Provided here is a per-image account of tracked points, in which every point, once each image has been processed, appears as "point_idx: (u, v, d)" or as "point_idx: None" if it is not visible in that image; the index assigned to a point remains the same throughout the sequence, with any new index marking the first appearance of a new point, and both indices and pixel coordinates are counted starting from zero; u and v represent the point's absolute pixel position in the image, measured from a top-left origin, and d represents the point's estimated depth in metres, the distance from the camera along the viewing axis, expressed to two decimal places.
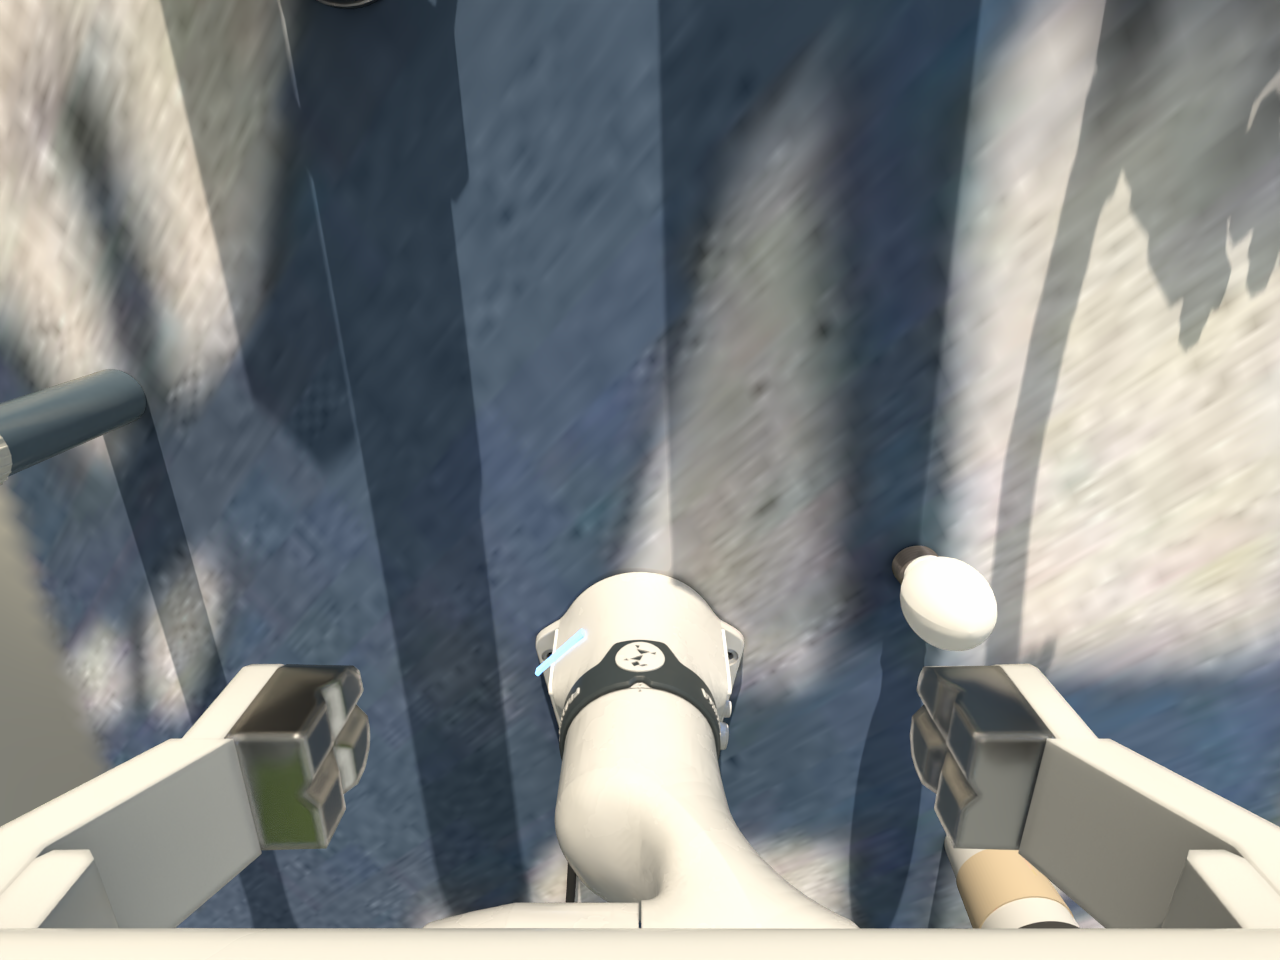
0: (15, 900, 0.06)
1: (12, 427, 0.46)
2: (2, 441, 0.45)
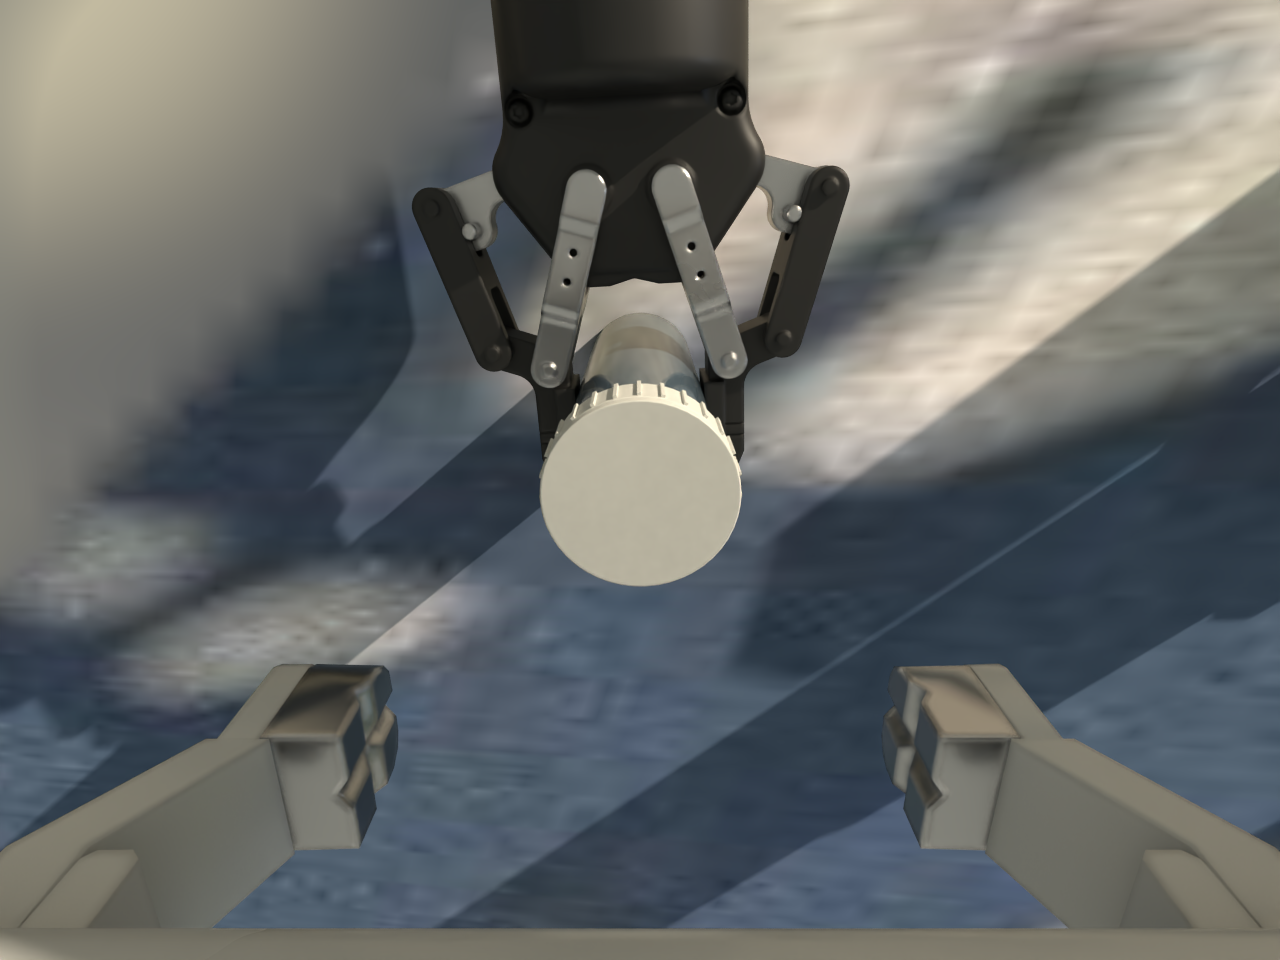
0: (63, 900, 0.06)
1: None
2: None
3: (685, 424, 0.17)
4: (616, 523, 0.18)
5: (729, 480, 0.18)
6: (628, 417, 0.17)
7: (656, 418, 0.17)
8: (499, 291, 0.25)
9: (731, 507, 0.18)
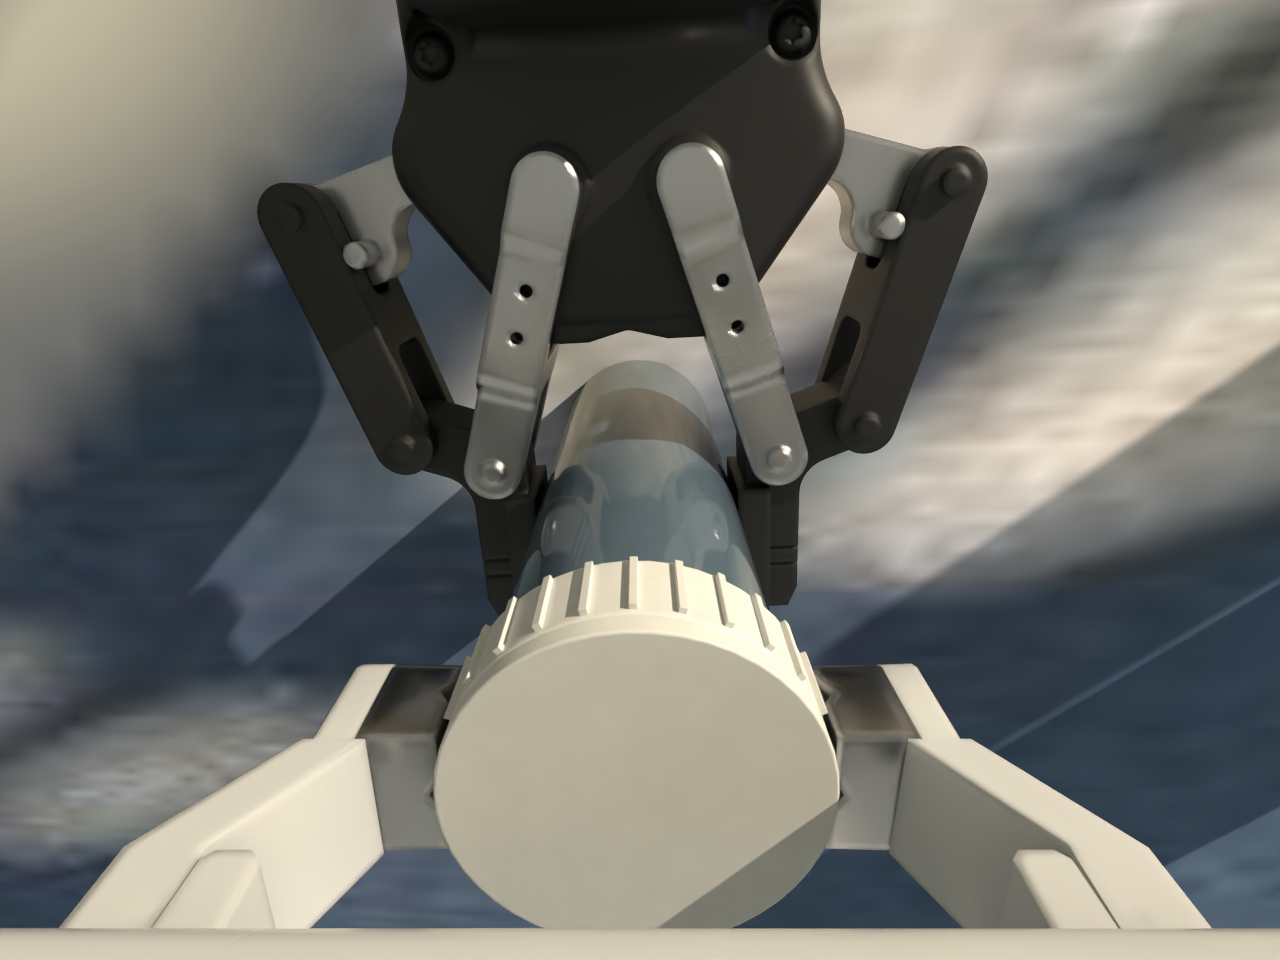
0: (190, 900, 0.06)
1: None
2: None
3: (730, 675, 0.08)
4: (589, 846, 0.09)
5: (817, 775, 0.09)
6: (610, 662, 0.08)
7: (669, 664, 0.08)
8: (419, 345, 0.16)
9: (818, 819, 0.09)
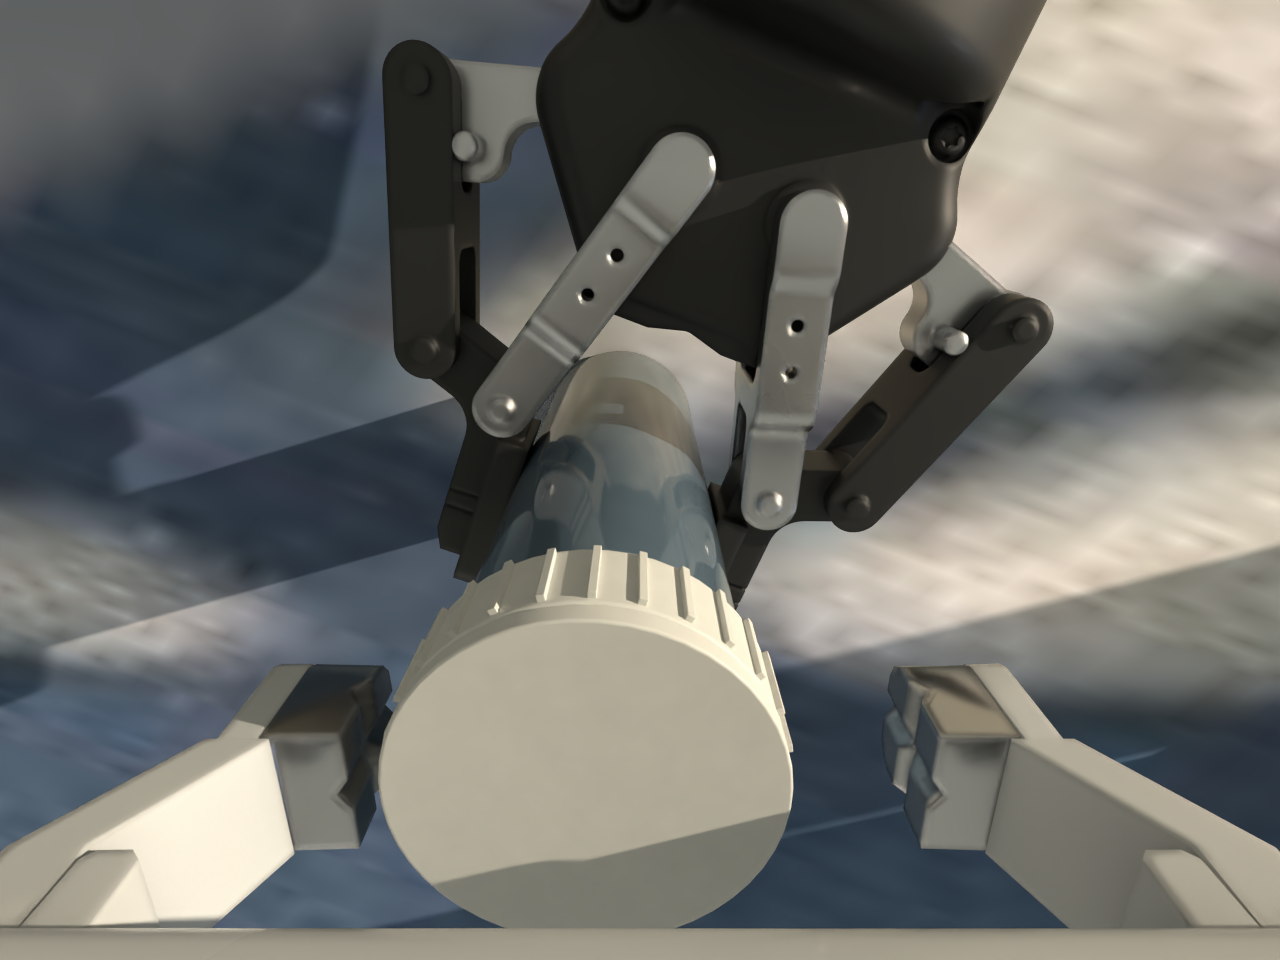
0: (62, 900, 0.06)
1: None
2: None
3: (554, 645, 0.08)
4: (582, 854, 0.09)
5: (712, 682, 0.08)
6: (452, 696, 0.08)
7: (497, 668, 0.08)
8: (473, 256, 0.16)
9: (754, 719, 0.08)
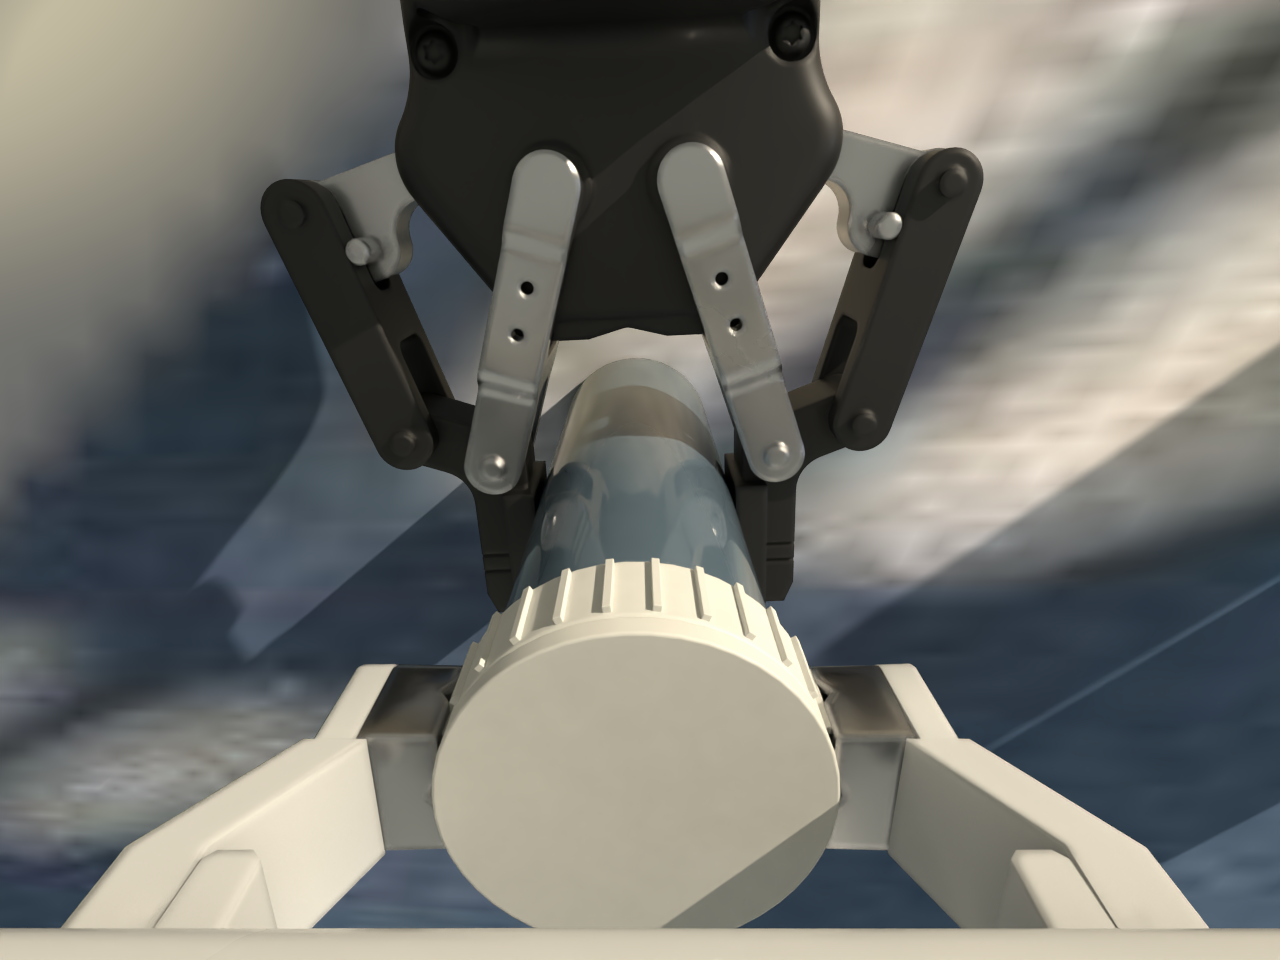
0: (192, 900, 0.06)
1: None
2: None
3: (536, 680, 0.08)
4: (659, 859, 0.09)
5: (695, 661, 0.08)
6: (471, 756, 0.08)
7: (497, 718, 0.08)
8: (420, 341, 0.16)
9: (754, 680, 0.08)
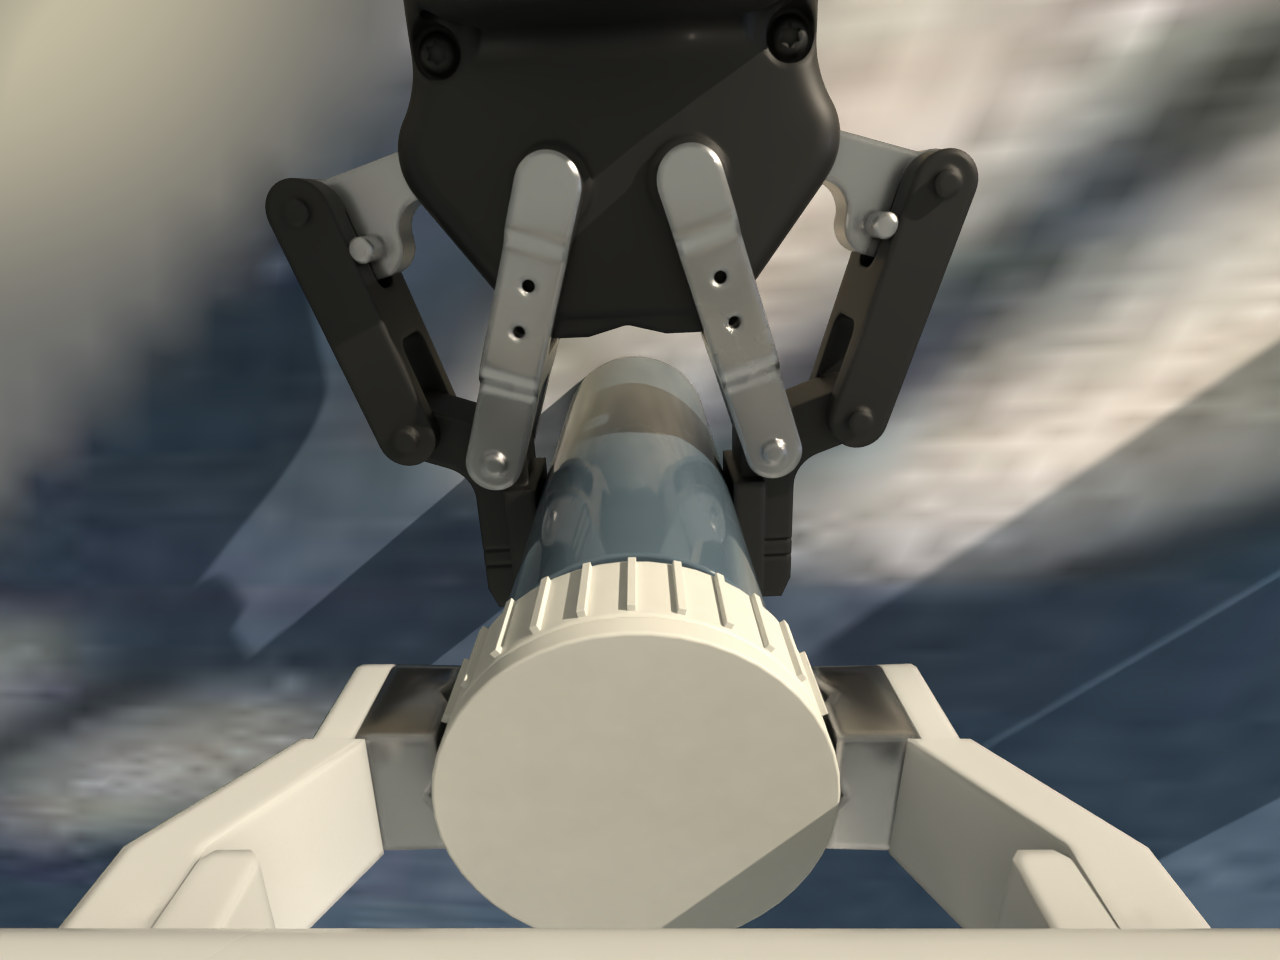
0: (191, 900, 0.06)
1: None
2: (646, 568, 0.09)
3: (457, 810, 0.09)
4: (709, 817, 0.09)
5: (502, 697, 0.08)
6: (507, 885, 0.09)
7: (479, 852, 0.09)
8: (421, 338, 0.17)
9: (553, 662, 0.08)
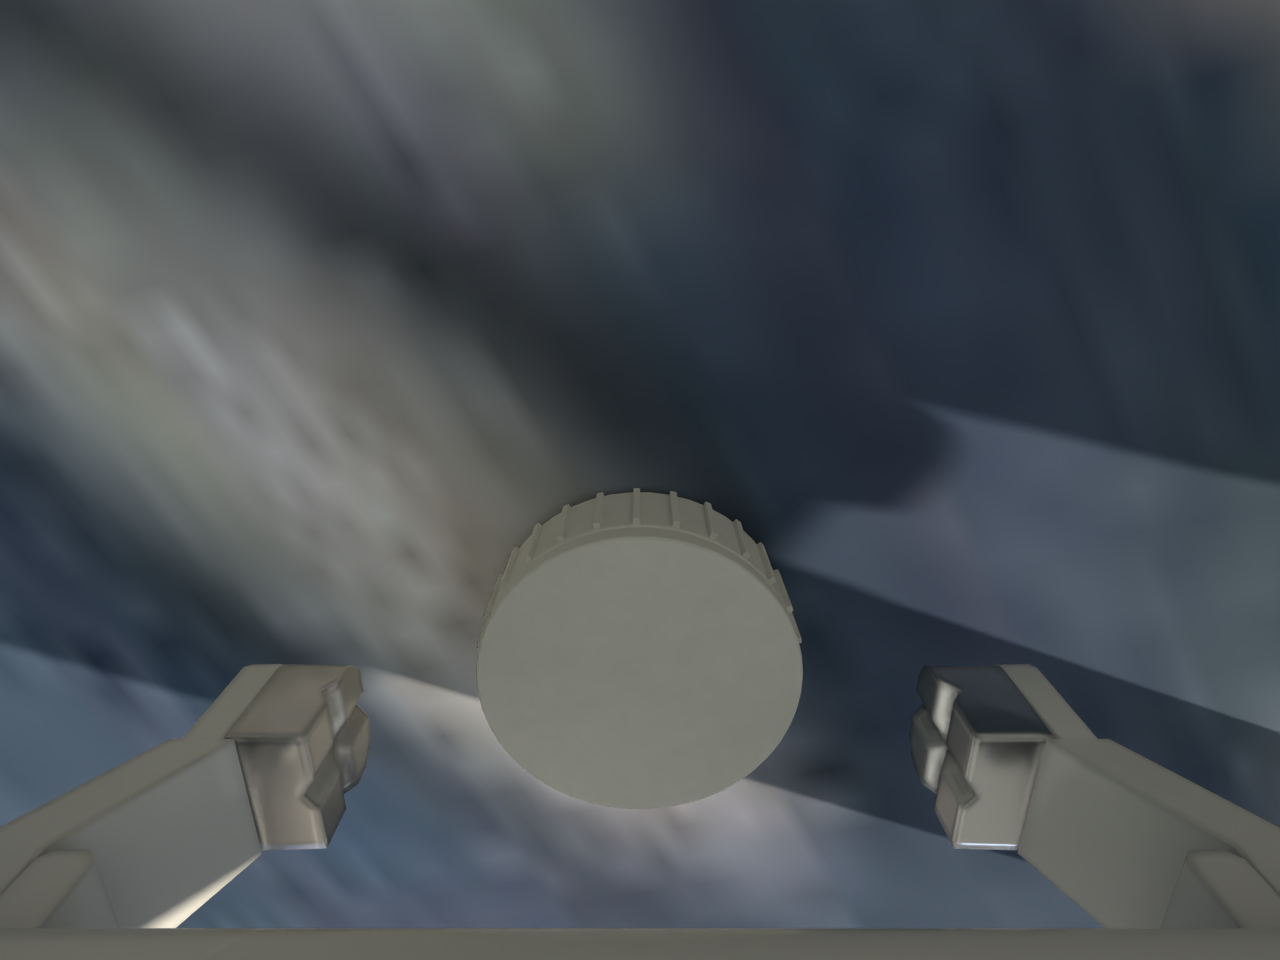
0: (16, 900, 0.06)
1: None
2: (648, 497, 0.12)
3: (496, 686, 0.11)
4: (698, 693, 0.11)
5: (534, 590, 0.10)
6: (535, 752, 0.11)
7: (513, 722, 0.11)
8: None
9: (575, 561, 0.10)
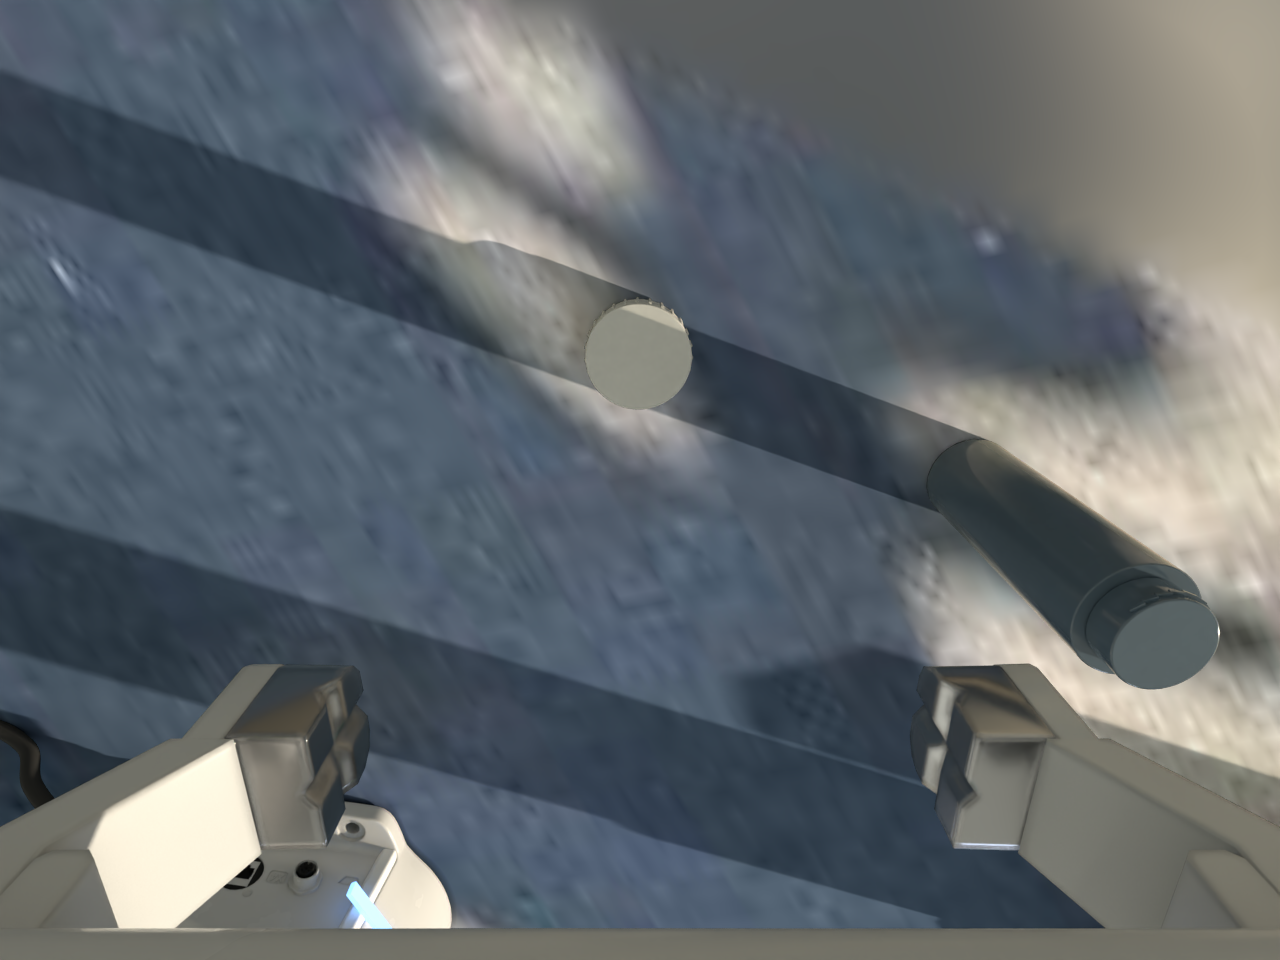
0: (15, 900, 0.06)
1: None
2: (641, 301, 0.34)
3: (591, 358, 0.34)
4: (657, 361, 0.34)
5: (605, 322, 0.33)
6: (603, 385, 0.34)
7: (596, 373, 0.34)
8: None
9: (618, 312, 0.33)
